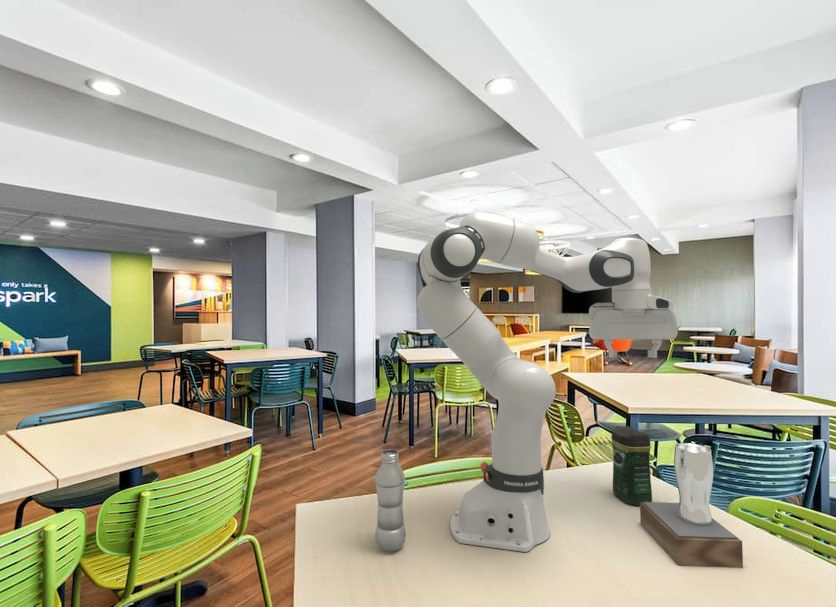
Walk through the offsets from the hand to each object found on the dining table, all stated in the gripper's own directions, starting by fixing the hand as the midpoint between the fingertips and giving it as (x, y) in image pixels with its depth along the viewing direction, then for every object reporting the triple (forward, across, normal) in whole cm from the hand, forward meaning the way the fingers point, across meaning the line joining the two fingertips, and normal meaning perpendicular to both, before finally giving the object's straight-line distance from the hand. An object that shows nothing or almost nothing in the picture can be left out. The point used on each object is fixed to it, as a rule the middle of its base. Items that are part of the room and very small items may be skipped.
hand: (632, 357), depth 104 cm
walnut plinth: (+38, +5, -14) cm, 41 cm away
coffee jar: (+38, +2, +8) cm, 39 cm away
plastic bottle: (+39, -58, -20) cm, 73 cm away
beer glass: (+33, +6, -14) cm, 36 cm away
